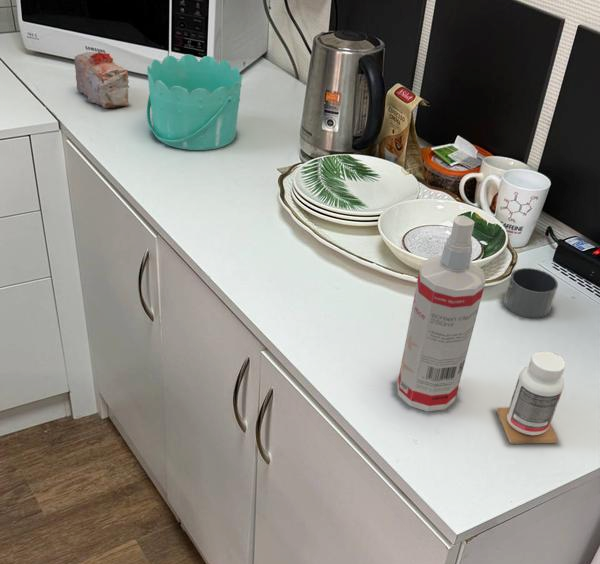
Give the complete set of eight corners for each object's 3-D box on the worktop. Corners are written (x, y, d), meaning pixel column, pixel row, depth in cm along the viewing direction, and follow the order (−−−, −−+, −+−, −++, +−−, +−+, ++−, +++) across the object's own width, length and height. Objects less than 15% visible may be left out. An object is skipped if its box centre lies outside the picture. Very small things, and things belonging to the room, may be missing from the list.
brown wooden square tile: (540, 411, 105) (542, 407, 104) (556, 443, 100) (558, 438, 99) (496, 411, 104) (497, 407, 103) (509, 443, 99) (511, 439, 99)
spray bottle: (466, 400, 105) (513, 228, 89) (423, 418, 102) (463, 242, 86) (428, 367, 110) (465, 199, 94) (385, 383, 107) (416, 211, 91)
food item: (135, 107, 174) (132, 60, 168) (102, 113, 170) (98, 65, 163) (103, 87, 182) (99, 41, 175) (71, 93, 177) (66, 46, 171)
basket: (256, 144, 164) (259, 79, 155) (176, 160, 155) (174, 92, 147) (210, 111, 175) (210, 49, 167) (133, 124, 167) (129, 60, 158)
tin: (541, 293, 127) (549, 268, 124) (555, 318, 122) (564, 293, 119) (498, 292, 126) (505, 267, 124) (511, 317, 121) (518, 292, 118)
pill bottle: (556, 434, 100) (579, 373, 94) (516, 439, 99) (537, 376, 93) (537, 406, 104) (558, 345, 98) (499, 410, 103) (518, 349, 97)
